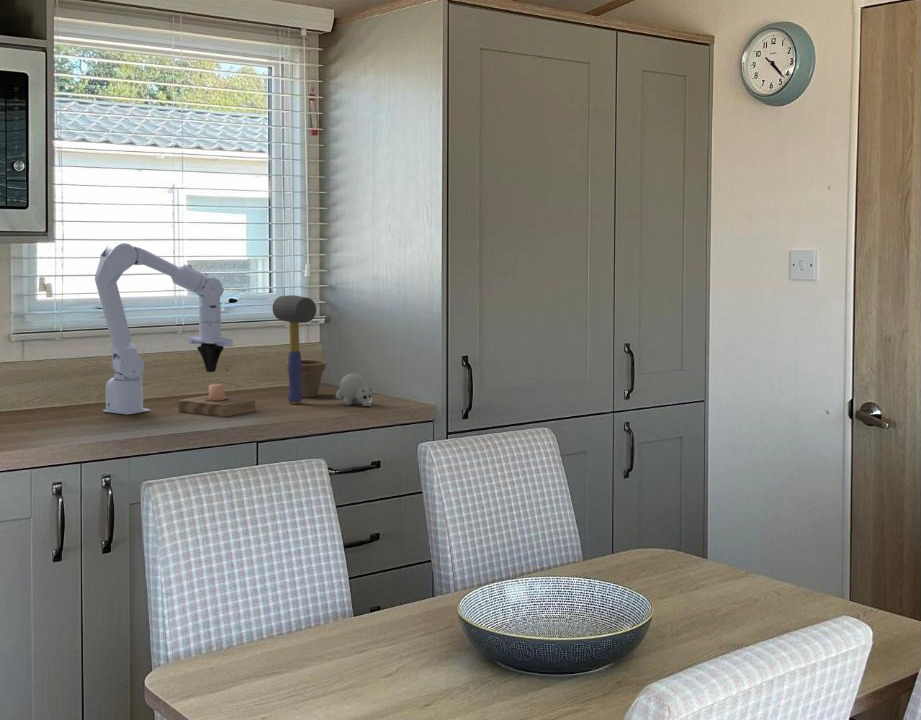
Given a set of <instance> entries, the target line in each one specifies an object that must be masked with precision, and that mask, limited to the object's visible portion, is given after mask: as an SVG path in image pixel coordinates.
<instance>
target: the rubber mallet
mask: <svg viewBox="0 0 921 720" xmlns="http://www.w3.org/2000/svg"><path fill="white" fill-rule="evenodd" d="M271 309H272V313H273V315H274V316H275V318H276V319H278V320H279V321H283V322H288V323H289V352H288V360H287V362H288V371H287V372H288V374H287V375H288V394H287V400H288V402H289V404H291V405H298V404H301V401H302V400H303V397H302V392H301V372H302V362H301V360H302V356H301V351H300V327H299V324H300V323H301V324H303V323H304V324H305V323H309V322H311V321H313V319H314V318H315V316H316V314H317V305H316V303H315V302H314V300H313V299H311V298H309V297H306V296H301V295H280V296H278V297H277V298H275V300H274V301H273V304H272V308H271Z"/></svg>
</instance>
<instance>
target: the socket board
mask: <svg viewBox="0 0 921 720" xmlns="http://www.w3.org/2000/svg"><path fill="white" fill-rule="evenodd" d="M178 412H180V413H189V414H196V415H197V414H198V415H203V416H204V415H205V416H213V417H220V418H221V417H222V418H224V417H229V416H235V415H241V414H247V413H252V412H256V399H250V398H242V397H235V396H234V397H233V396H225V401H220V402H213V401H209V395H203V396H197V397H191V398H185V399H179V400H178Z"/></svg>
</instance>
